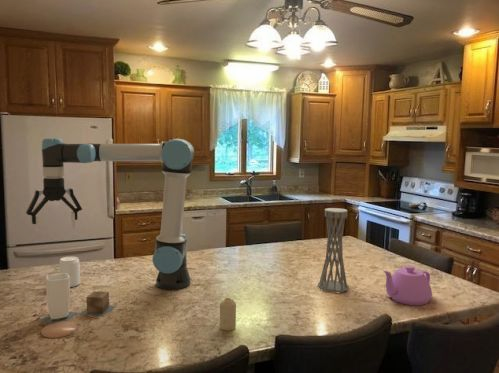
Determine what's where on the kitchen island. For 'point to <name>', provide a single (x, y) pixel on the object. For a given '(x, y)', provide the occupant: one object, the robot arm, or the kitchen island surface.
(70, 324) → the salmon round part
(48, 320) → the code tile
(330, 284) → the grey lattice tower
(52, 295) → the cup
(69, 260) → the beverage can
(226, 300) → the candle
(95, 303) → the walnut block
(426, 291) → the teapot
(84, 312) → the code tile
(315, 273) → the kitchen island surface
